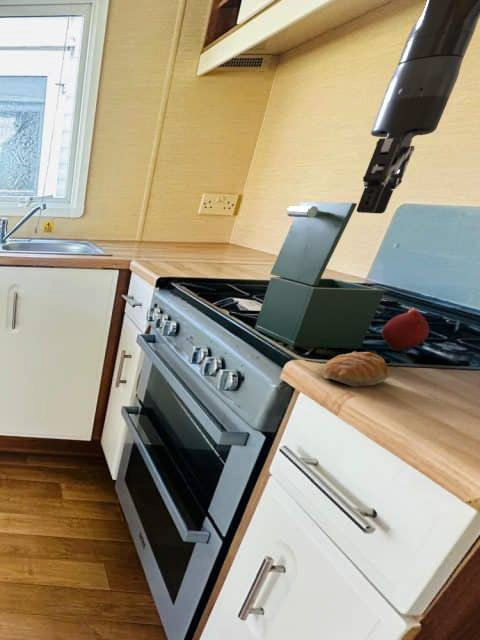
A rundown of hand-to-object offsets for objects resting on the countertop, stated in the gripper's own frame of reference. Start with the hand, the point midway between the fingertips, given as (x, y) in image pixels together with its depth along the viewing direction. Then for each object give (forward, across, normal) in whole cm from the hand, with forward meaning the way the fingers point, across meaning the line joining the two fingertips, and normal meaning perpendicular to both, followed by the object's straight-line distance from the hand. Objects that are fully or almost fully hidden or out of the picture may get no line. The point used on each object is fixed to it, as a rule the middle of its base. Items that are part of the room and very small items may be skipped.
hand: (370, 213), depth 71 cm
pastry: (+23, -18, -8) cm, 30 cm away
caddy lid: (+5, -2, +6) cm, 8 cm away
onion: (+23, +7, -10) cm, 26 cm away
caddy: (+23, +2, +3) cm, 23 cm away
